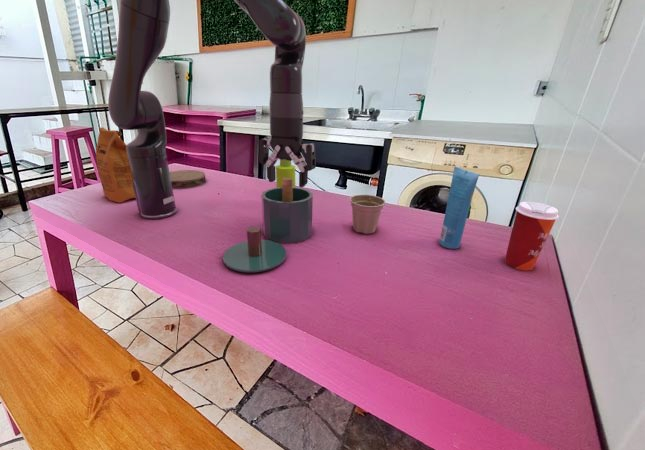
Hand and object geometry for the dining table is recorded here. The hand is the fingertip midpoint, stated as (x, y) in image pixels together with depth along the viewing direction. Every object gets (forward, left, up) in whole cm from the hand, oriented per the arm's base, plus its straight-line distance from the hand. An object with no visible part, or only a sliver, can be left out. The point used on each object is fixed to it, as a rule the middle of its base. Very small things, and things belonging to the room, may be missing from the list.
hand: (287, 183), depth 75 cm
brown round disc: (-58, +21, -14) cm, 63 cm away
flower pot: (+18, +11, -14) cm, 25 cm away
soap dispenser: (-10, +17, -14) cm, 24 cm away
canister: (0, 0, -13) cm, 13 cm away
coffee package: (-62, -1, -14) cm, 63 cm away
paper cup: (+55, +9, -14) cm, 57 cm away
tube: (+40, +12, -14) cm, 44 cm away
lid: (0, -15, -13) cm, 20 cm away
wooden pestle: (0, 0, -13) cm, 13 cm away
